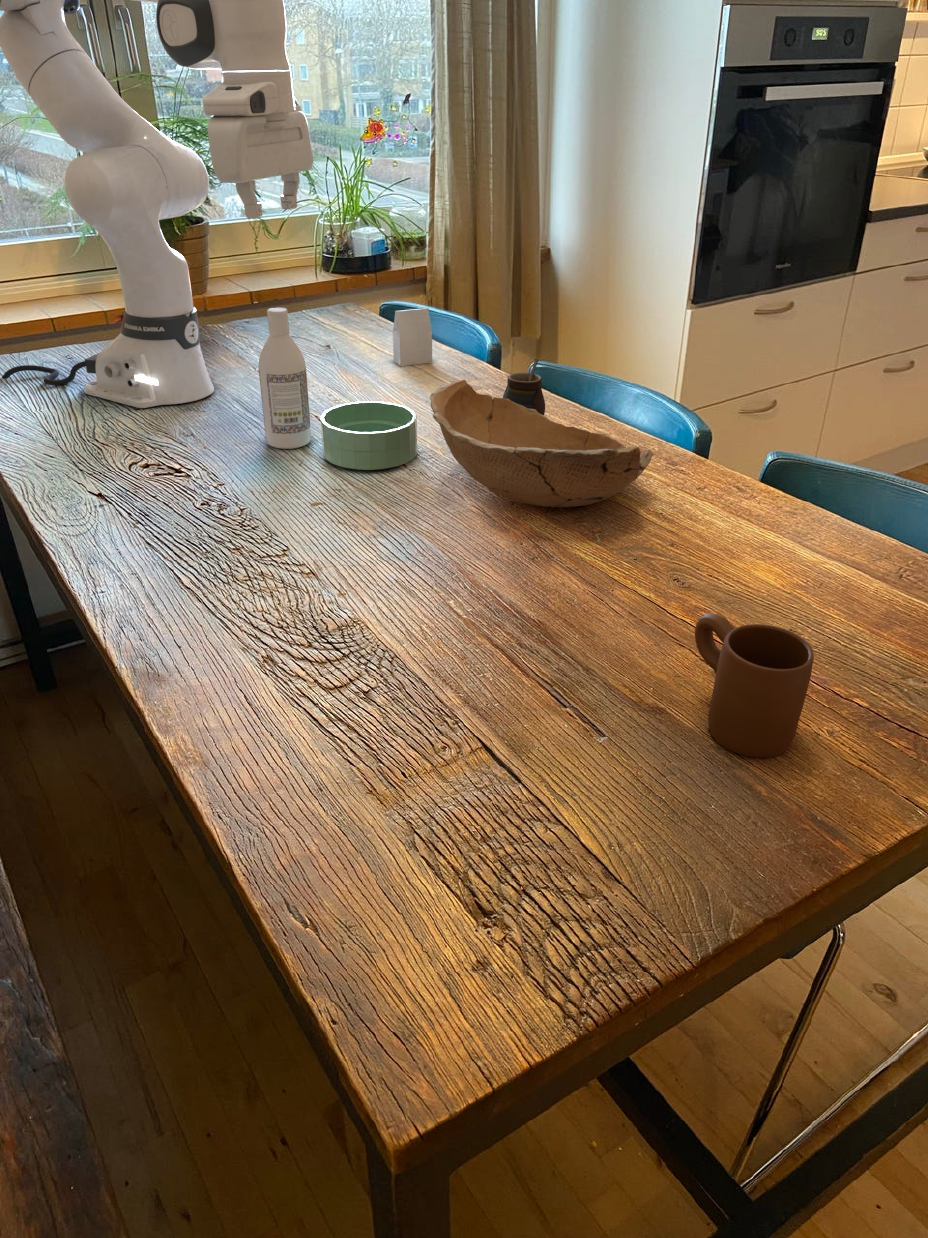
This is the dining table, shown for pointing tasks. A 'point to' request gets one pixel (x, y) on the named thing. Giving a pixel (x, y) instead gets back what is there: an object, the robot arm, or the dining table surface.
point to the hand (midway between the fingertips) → (272, 213)
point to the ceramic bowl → (531, 451)
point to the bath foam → (283, 386)
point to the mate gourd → (526, 390)
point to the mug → (754, 684)
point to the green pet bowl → (369, 435)
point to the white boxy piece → (412, 337)
